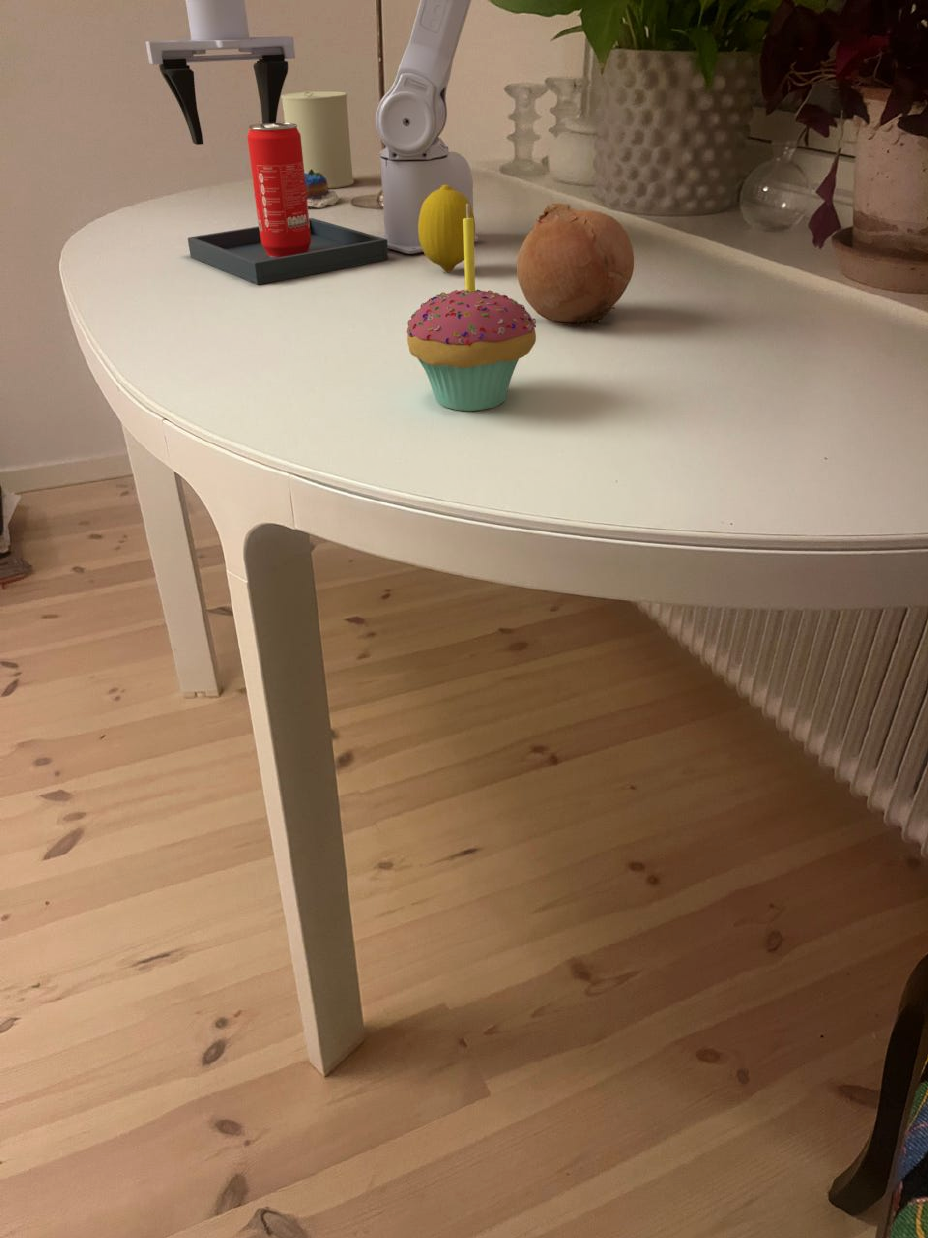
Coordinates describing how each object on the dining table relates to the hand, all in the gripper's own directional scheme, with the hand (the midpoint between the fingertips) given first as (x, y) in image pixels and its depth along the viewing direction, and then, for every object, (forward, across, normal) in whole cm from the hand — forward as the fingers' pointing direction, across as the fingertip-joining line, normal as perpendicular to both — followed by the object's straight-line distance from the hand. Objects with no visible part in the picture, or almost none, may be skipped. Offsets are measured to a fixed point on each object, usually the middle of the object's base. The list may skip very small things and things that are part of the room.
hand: (234, 140), depth 100 cm
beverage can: (+10, +2, -9) cm, 13 cm away
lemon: (+11, +14, -22) cm, 29 cm away
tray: (+10, +2, -9) cm, 14 cm away
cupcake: (+11, +1, -55) cm, 56 cm away
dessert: (+11, +14, +21) cm, 27 cm away
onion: (+11, +17, -42) cm, 47 cm away
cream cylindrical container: (+11, +20, +34) cm, 41 cm away
